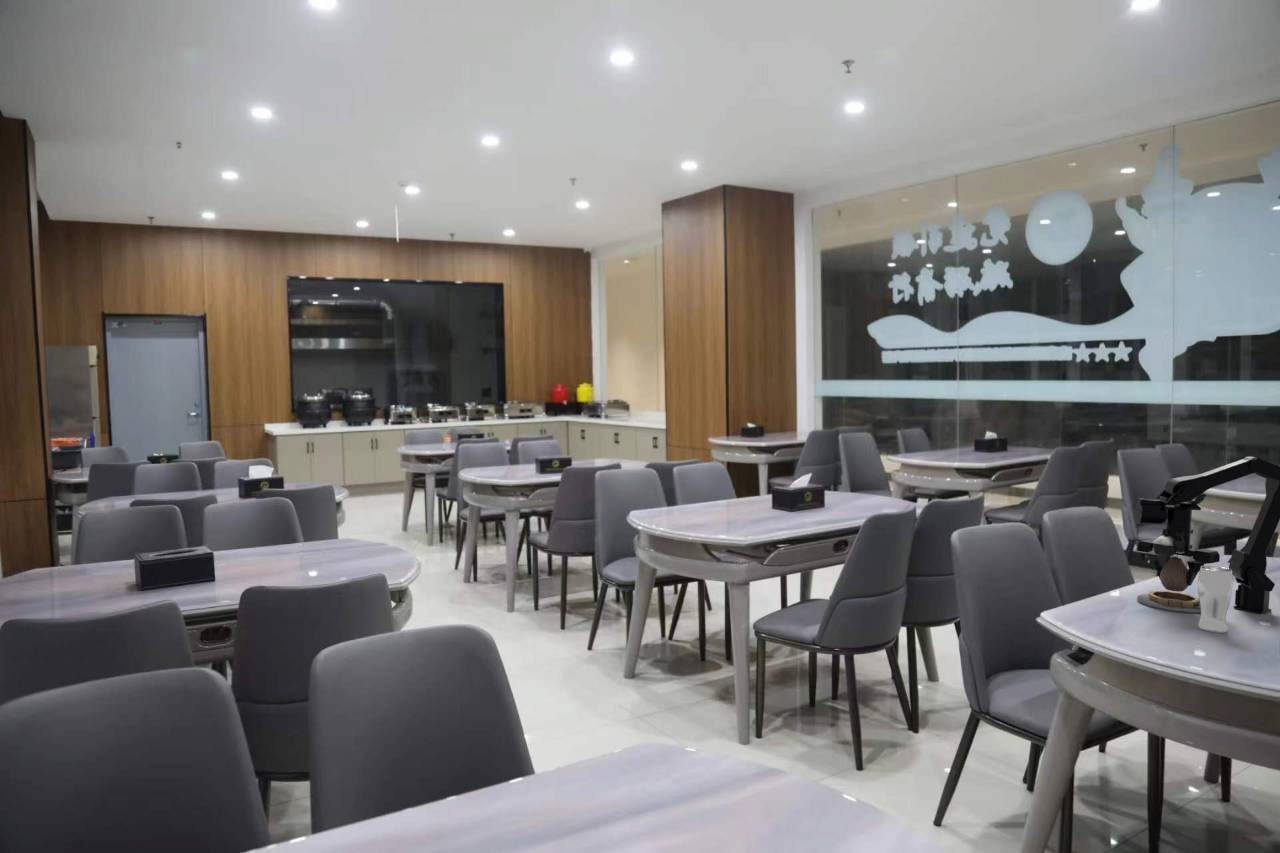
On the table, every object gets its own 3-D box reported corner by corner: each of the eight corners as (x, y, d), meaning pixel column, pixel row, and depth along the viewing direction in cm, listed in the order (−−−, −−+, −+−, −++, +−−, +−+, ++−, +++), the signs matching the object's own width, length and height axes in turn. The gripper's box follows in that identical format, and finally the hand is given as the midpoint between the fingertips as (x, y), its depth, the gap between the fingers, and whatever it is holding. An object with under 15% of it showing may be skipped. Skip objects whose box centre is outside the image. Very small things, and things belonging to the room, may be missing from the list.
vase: (1160, 590, 229) (1162, 558, 229) (1158, 585, 235) (1160, 554, 235) (1190, 594, 226) (1192, 561, 226) (1188, 588, 232) (1190, 557, 232)
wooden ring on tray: (1223, 608, 228) (1224, 599, 228) (1190, 616, 219) (1191, 607, 219) (1157, 593, 243) (1158, 585, 242) (1124, 600, 234) (1124, 592, 234)
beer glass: (1219, 626, 211) (1223, 566, 210) (1235, 634, 204) (1239, 572, 203) (1189, 624, 212) (1193, 564, 211) (1205, 632, 205) (1209, 571, 204)
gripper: (1126, 522, 233) (1123, 578, 234) (1200, 533, 217) (1197, 594, 218) (1148, 519, 239) (1145, 574, 240) (1222, 530, 223) (1218, 589, 224)
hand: (1175, 582), depth 231 cm, fingers closed on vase, 7 cm apart
